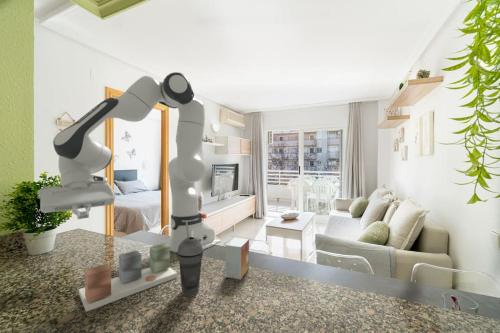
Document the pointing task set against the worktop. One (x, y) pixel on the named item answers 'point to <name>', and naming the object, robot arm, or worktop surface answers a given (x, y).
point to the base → (129, 286)
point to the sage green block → (159, 257)
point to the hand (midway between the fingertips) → (83, 217)
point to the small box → (236, 258)
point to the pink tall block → (97, 282)
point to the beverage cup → (190, 264)
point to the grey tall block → (129, 266)
